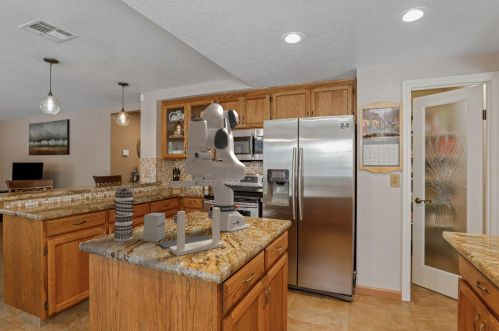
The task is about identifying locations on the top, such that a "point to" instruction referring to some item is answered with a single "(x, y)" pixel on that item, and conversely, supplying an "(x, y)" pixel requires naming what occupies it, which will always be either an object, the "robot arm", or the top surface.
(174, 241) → the rubber mat
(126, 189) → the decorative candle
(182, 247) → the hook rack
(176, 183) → the steel bar
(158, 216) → the supplement box
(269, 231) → the top surface
